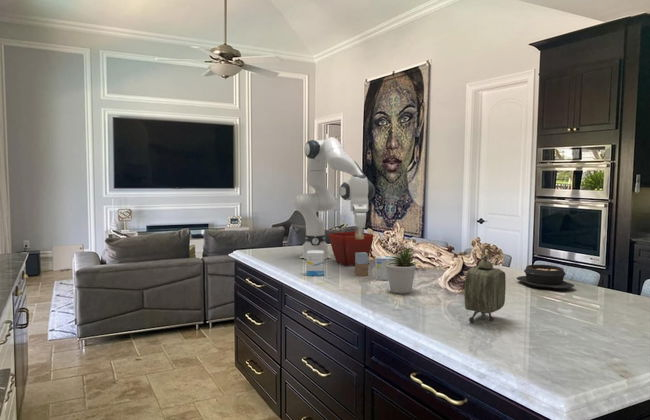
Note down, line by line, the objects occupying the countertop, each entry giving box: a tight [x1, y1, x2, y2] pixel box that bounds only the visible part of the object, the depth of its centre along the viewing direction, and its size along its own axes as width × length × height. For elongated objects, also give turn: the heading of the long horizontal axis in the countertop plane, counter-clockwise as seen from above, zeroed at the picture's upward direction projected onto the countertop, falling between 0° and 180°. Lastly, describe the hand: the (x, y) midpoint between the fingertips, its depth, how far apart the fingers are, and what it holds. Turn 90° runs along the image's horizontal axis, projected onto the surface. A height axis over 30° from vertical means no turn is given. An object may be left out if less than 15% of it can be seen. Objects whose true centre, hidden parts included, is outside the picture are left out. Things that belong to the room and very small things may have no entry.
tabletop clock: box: [463, 247, 507, 323], centre depth 162 cm, size 14×9×25 cm, turn 141°
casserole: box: [516, 264, 575, 290], centre depth 212 cm, size 25×19×8 cm
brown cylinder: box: [354, 227, 365, 239], centre depth 237 cm, size 4×4×5 cm
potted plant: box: [386, 244, 419, 295], centre depth 203 cm, size 13×14×20 cm
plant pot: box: [328, 231, 374, 267], centre depth 268 cm, size 19×19×17 cm
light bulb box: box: [374, 255, 398, 281], centre depth 228 cm, size 11×7×11 cm, turn 84°
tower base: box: [354, 263, 369, 277], centre depth 238 cm, size 6×6×6 cm
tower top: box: [355, 252, 369, 265], centre depth 237 cm, size 5×5×5 cm
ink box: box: [306, 250, 325, 277], centre depth 239 cm, size 8×8×12 cm
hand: (359, 235), depth 237 cm, fingers closed on brown cylinder, 4 cm apart
